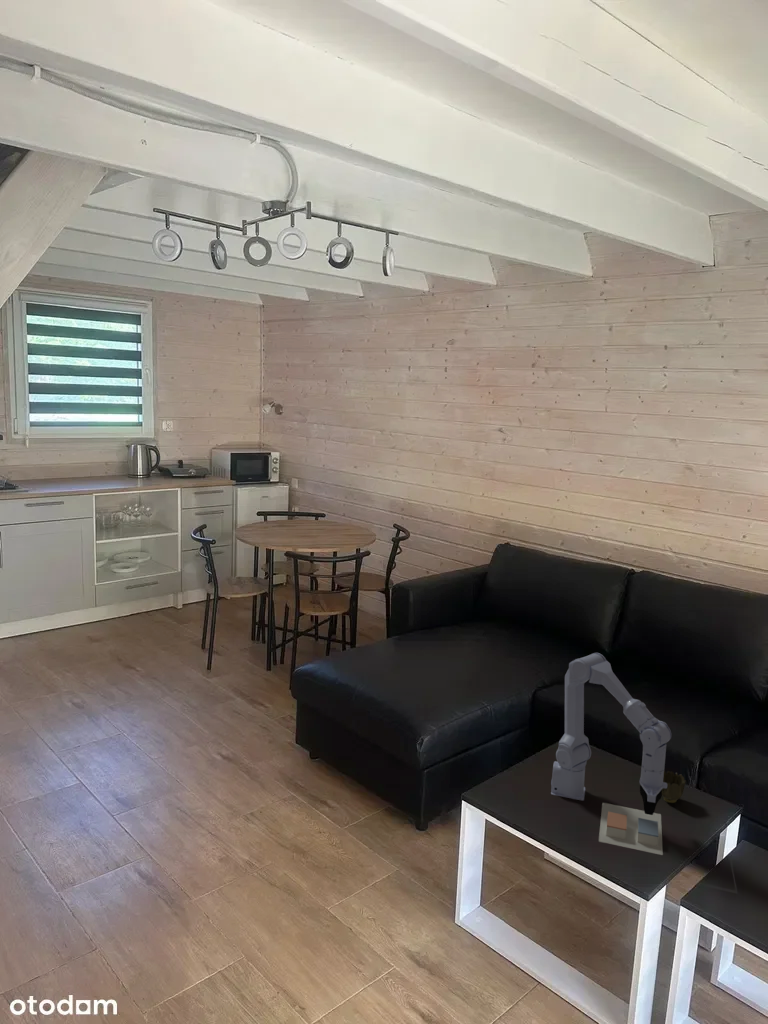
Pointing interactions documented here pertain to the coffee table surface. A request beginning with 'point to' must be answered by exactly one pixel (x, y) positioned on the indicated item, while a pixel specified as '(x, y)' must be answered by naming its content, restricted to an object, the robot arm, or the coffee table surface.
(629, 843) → the mat
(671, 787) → the cup
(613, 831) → the slab
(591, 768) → the coffee table surface
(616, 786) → the coffee table surface
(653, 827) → the slab
